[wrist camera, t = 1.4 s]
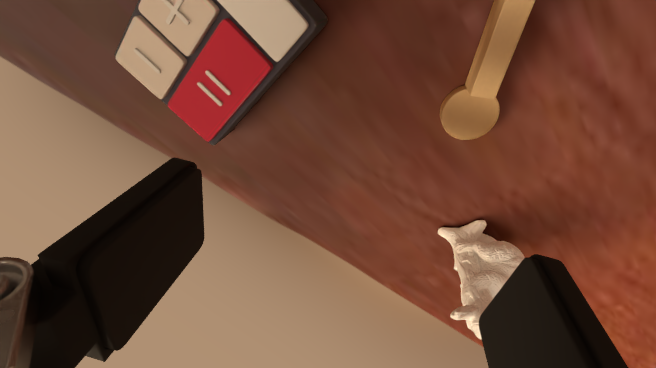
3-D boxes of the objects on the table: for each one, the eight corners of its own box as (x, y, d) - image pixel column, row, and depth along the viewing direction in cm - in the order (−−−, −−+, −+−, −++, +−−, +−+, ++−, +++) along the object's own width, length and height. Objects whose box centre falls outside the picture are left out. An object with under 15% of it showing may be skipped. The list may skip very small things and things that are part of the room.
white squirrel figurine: (417, 234, 34) (426, 336, 24) (465, 195, 30) (500, 295, 20) (474, 274, 35) (507, 386, 25) (527, 240, 31) (589, 355, 21)
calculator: (104, 59, 26) (184, -126, 18) (141, 49, 29) (221, -109, 21) (208, 151, 29) (317, 26, 21) (230, 132, 32) (330, 19, 24)
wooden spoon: (487, -43, 21) (498, -48, 19) (556, -35, 20) (575, -39, 18) (433, 130, 27) (436, 141, 25) (483, 139, 27) (491, 151, 25)
